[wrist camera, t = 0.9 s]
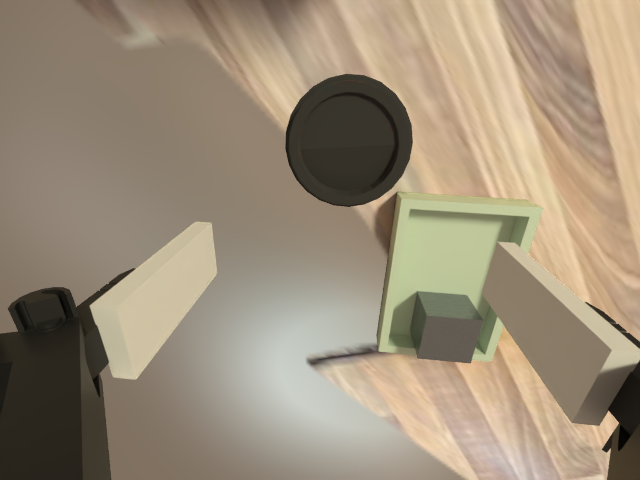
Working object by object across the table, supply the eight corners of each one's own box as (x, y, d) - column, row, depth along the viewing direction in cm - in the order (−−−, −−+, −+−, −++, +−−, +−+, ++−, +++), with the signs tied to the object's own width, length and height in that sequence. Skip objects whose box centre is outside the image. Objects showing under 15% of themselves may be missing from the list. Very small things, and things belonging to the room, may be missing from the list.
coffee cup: (386, 170, 34) (414, 211, 20) (310, 173, 35) (286, 215, 21) (389, 85, 31) (423, 63, 17) (305, 90, 31) (272, 74, 18)
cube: (417, 290, 38) (426, 315, 34) (467, 294, 38) (483, 320, 33) (409, 330, 40) (417, 358, 36) (456, 334, 40) (470, 363, 36)
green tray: (397, 191, 35) (401, 198, 32) (527, 199, 34) (543, 207, 31) (376, 335, 42) (378, 351, 39) (481, 345, 41) (491, 361, 39)
